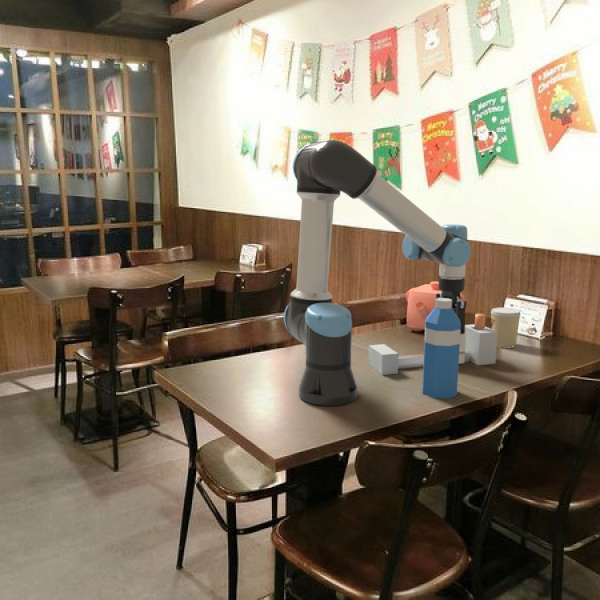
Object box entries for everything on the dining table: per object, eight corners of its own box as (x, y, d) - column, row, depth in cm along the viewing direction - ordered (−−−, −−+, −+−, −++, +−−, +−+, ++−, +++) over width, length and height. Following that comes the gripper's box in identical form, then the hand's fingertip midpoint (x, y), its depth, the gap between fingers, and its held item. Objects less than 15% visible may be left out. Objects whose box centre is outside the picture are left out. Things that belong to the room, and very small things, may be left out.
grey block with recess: (478, 365, 178) (480, 333, 176) (460, 355, 188) (462, 325, 186) (495, 363, 180) (497, 331, 178) (477, 354, 189) (479, 323, 187)
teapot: (448, 344, 201) (451, 292, 197) (387, 334, 213) (389, 285, 210) (471, 328, 222) (474, 281, 218) (414, 320, 234) (416, 275, 230)
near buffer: (381, 374, 170) (382, 354, 169) (368, 364, 179) (368, 345, 178) (397, 373, 171) (398, 353, 170) (383, 363, 181) (384, 344, 179)
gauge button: (478, 329, 180) (478, 316, 179) (472, 326, 183) (473, 314, 182) (486, 328, 181) (487, 315, 180) (481, 325, 183) (482, 313, 183)
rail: (392, 369, 175) (392, 359, 174) (388, 366, 177) (389, 357, 176) (469, 361, 182) (470, 352, 181) (465, 359, 184) (466, 350, 183)
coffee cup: (493, 339, 206) (496, 306, 204) (521, 344, 201) (524, 309, 198) (484, 345, 199) (487, 310, 196) (513, 350, 193) (515, 314, 191)
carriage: (440, 365, 177) (442, 329, 175) (430, 359, 183) (432, 325, 180) (464, 363, 179) (466, 327, 177) (453, 357, 185) (455, 323, 182)
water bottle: (451, 401, 150) (456, 305, 145) (416, 394, 155) (419, 300, 150) (462, 390, 158) (467, 298, 153) (428, 383, 163) (432, 294, 157)
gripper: (481, 281, 168) (476, 360, 172) (446, 271, 185) (443, 342, 190) (457, 283, 166) (453, 362, 170) (425, 272, 183) (422, 344, 188)
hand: (447, 351), depth 180 cm, fingers closed on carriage, 6 cm apart
